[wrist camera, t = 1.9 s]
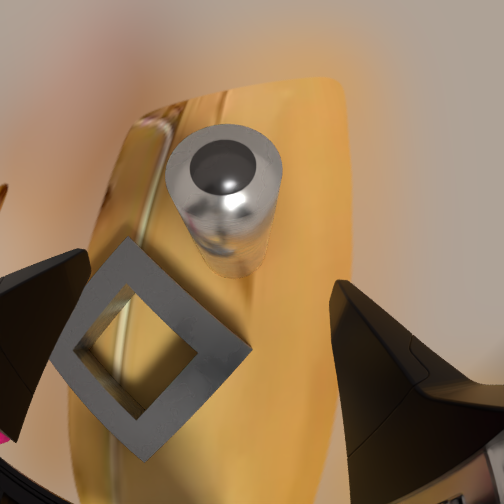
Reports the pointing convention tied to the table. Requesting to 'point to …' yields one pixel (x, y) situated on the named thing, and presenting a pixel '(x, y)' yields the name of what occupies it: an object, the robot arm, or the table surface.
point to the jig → (176, 317)
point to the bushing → (226, 194)
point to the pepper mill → (3, 438)
